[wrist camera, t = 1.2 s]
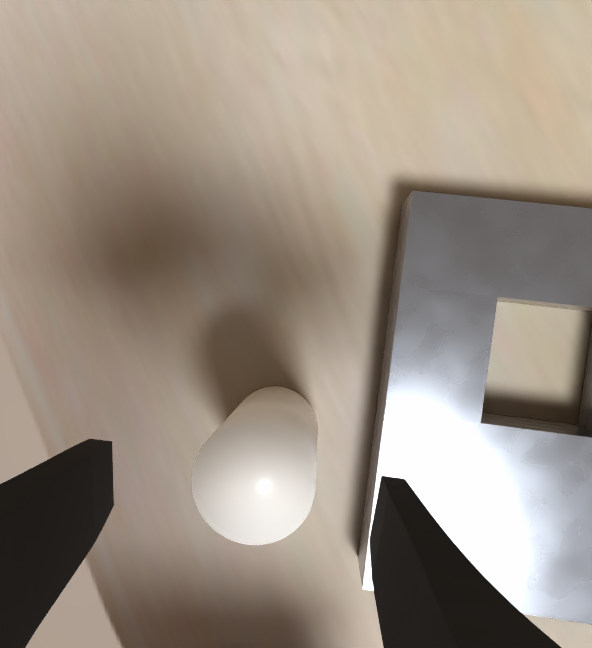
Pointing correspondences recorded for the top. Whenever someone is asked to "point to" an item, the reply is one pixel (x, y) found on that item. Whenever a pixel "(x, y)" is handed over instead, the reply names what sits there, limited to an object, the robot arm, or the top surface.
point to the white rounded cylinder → (259, 468)
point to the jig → (468, 396)
